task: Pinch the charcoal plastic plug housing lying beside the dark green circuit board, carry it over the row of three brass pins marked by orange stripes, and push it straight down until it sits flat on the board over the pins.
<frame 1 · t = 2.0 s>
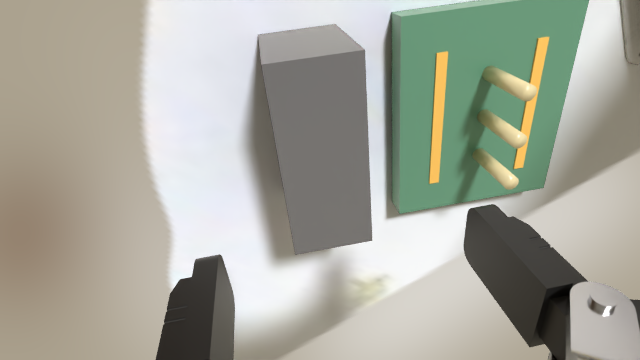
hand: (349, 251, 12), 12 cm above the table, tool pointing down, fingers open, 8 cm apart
header board: (470, 106, 24), on the table
plug housing: (307, 116, 22), on the table
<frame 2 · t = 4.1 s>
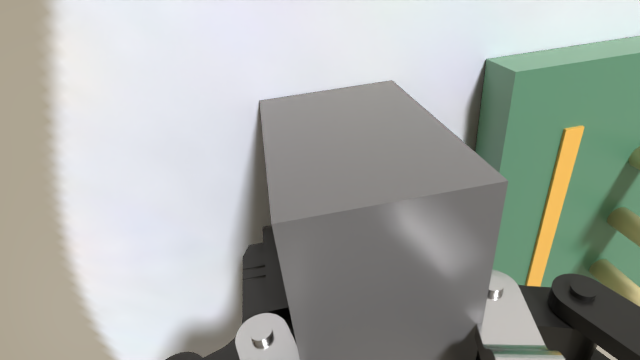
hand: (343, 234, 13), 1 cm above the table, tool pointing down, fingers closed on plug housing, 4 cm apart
header board: (586, 194, 15), on the table
plug housing: (338, 219, 14), on the table, touching gripper
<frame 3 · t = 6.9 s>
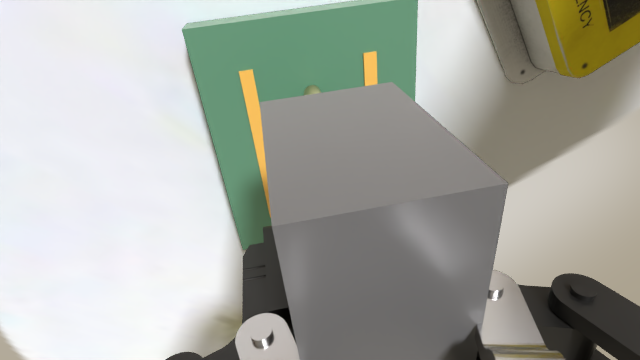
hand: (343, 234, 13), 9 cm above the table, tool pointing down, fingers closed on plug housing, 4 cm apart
header board: (313, 129, 21), on the table
plug housing: (338, 220, 14), point 8 cm above the table, touching gripper
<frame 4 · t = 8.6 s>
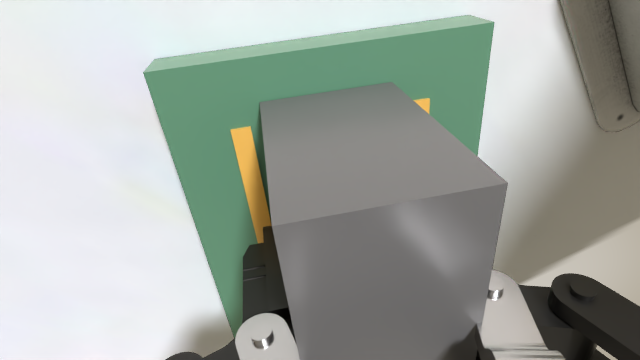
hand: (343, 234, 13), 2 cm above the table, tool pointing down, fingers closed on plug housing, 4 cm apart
header board: (333, 194, 15), on the table
plug housing: (338, 220, 14), point 2 cm above the table, touching gripper
when the fingers open (2 cm above the table, at t = 9.7 s): plug housing stays where it is, resting on header board.
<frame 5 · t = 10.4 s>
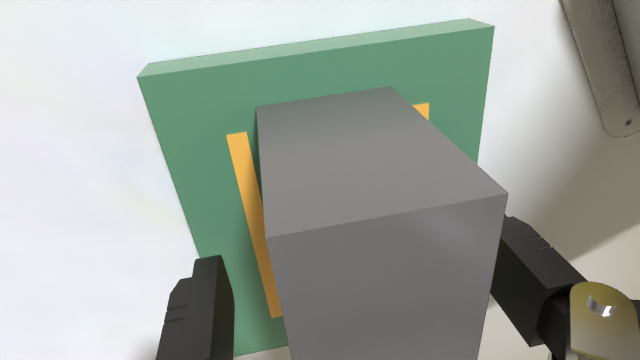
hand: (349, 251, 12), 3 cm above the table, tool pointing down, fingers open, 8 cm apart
header board: (331, 200, 15), on the table
plug housing: (336, 225, 14), point 1 cm above the table, touching header board
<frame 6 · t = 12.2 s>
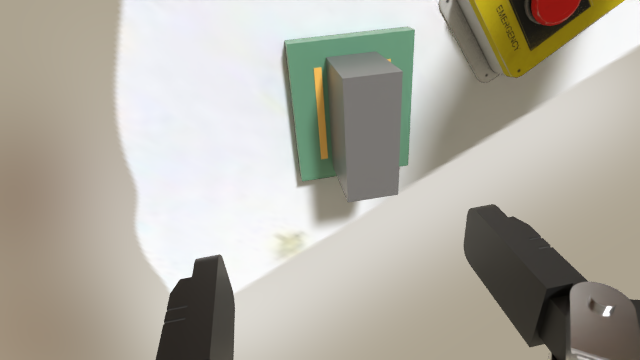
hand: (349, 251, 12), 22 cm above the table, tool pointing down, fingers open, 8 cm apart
header board: (349, 105, 34), on the table
plug housing: (352, 112, 32), point 1 cm above the table, touching header board
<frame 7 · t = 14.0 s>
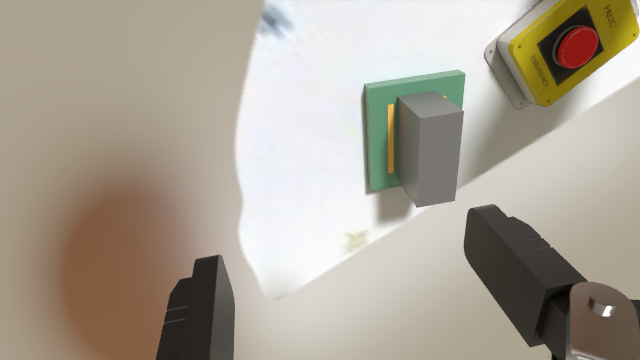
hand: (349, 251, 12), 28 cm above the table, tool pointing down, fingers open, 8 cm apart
header board: (410, 130, 43), on the table
emergency button: (556, 32, 41), on the table
plug housing: (414, 136, 41), point 1 cm above the table, touching header board
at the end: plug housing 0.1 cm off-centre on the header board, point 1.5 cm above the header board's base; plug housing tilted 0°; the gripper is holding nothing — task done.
